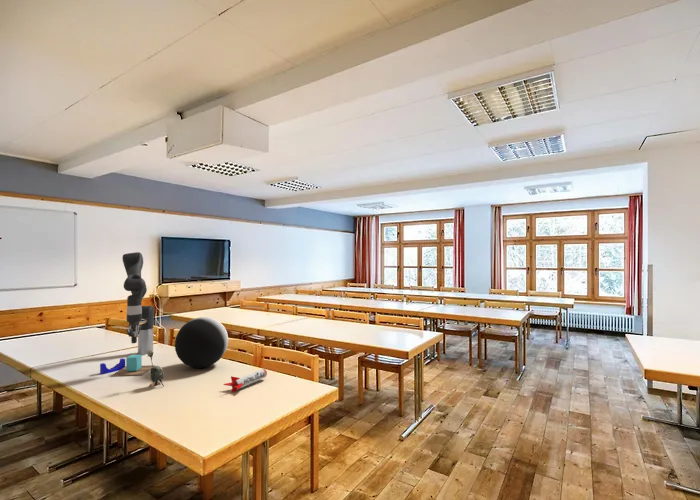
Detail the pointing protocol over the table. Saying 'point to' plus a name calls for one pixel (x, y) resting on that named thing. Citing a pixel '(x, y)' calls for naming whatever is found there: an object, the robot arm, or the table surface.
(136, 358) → the aqua box
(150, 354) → the plant with pod
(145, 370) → the walnut board
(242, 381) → the model rocket
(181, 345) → the black ball
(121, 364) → the cable clip
